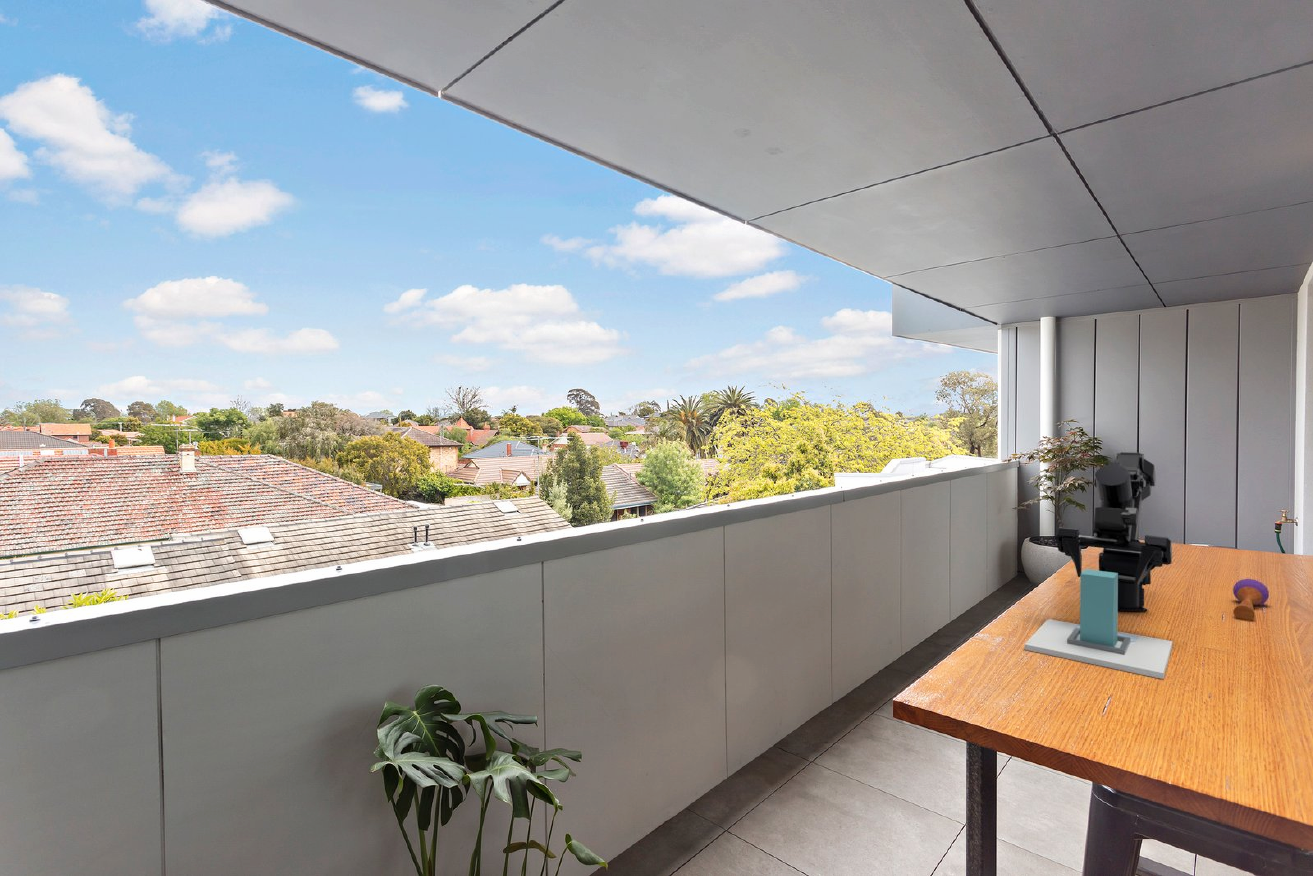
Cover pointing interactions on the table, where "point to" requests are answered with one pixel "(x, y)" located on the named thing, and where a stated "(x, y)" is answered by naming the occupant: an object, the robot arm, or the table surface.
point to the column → (1099, 607)
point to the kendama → (1249, 597)
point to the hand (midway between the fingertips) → (1106, 579)
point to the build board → (1103, 649)
